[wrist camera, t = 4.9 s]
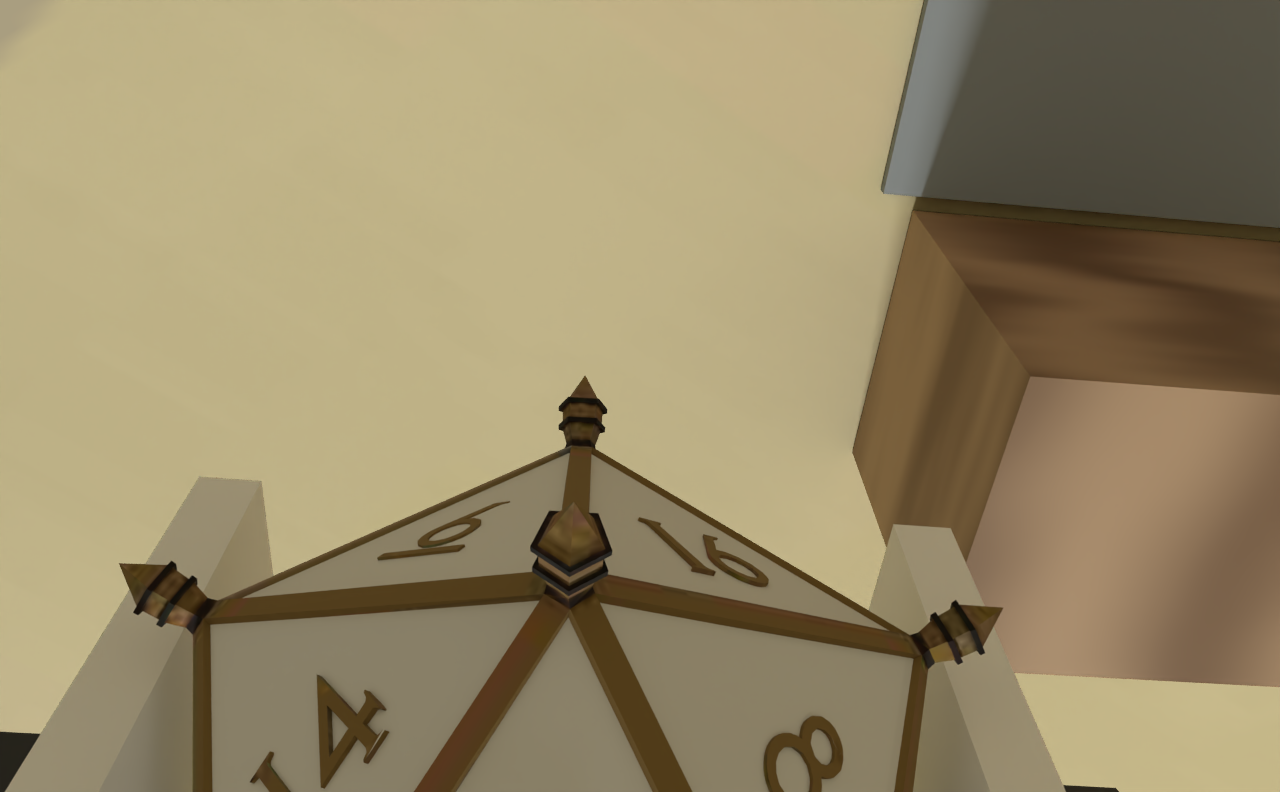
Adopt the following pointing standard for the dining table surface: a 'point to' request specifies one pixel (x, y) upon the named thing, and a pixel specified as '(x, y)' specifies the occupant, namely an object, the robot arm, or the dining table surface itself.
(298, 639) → the game die
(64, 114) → the dining table surface
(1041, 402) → the cardboard box
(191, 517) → the robot arm
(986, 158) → the mat
